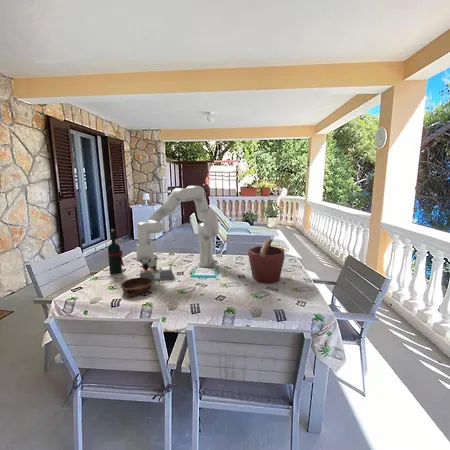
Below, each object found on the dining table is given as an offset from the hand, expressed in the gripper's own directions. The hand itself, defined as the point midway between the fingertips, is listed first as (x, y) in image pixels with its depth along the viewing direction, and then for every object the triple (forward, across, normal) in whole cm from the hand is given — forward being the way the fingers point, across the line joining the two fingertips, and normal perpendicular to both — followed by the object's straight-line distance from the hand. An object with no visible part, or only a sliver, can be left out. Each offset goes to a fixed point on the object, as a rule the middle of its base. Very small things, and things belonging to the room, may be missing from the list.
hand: (146, 269), depth 165 cm
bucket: (+6, -74, +23) cm, 78 cm away
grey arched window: (+6, -3, -18) cm, 19 cm away
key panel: (+6, -6, 0) cm, 9 cm away
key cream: (+3, -12, 0) cm, 13 cm away
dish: (+6, +5, +18) cm, 20 cm away
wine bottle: (+6, +19, -17) cm, 27 cm away
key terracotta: (+3, 0, 0) cm, 3 cm away
